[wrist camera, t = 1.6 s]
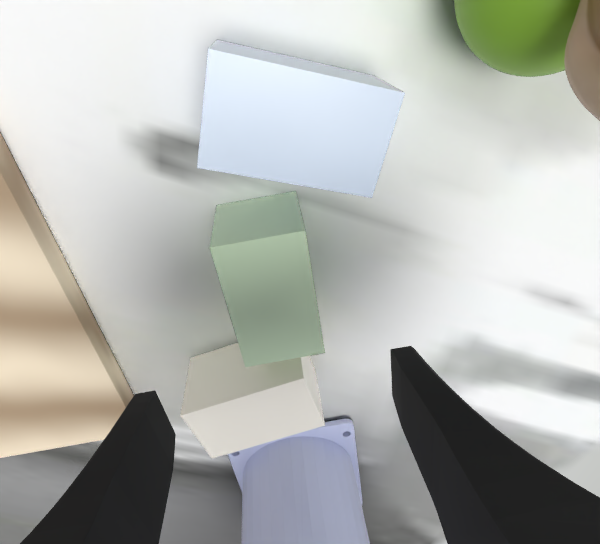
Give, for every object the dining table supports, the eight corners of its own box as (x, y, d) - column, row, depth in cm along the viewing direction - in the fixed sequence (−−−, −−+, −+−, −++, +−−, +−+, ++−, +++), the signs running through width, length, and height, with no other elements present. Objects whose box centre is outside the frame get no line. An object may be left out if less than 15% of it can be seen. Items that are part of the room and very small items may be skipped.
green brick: (313, 299, 22) (325, 352, 19) (246, 311, 22) (245, 367, 19) (295, 189, 19) (305, 230, 15) (216, 204, 19) (209, 247, 15)
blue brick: (373, 75, 17) (405, 92, 13) (349, 162, 18) (372, 197, 15) (217, 39, 16) (208, 48, 12) (207, 136, 17) (197, 167, 14)
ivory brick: (295, 322, 23) (303, 378, 19) (314, 367, 25) (325, 425, 21) (190, 356, 23) (180, 415, 20) (217, 397, 25) (211, 458, 22)
